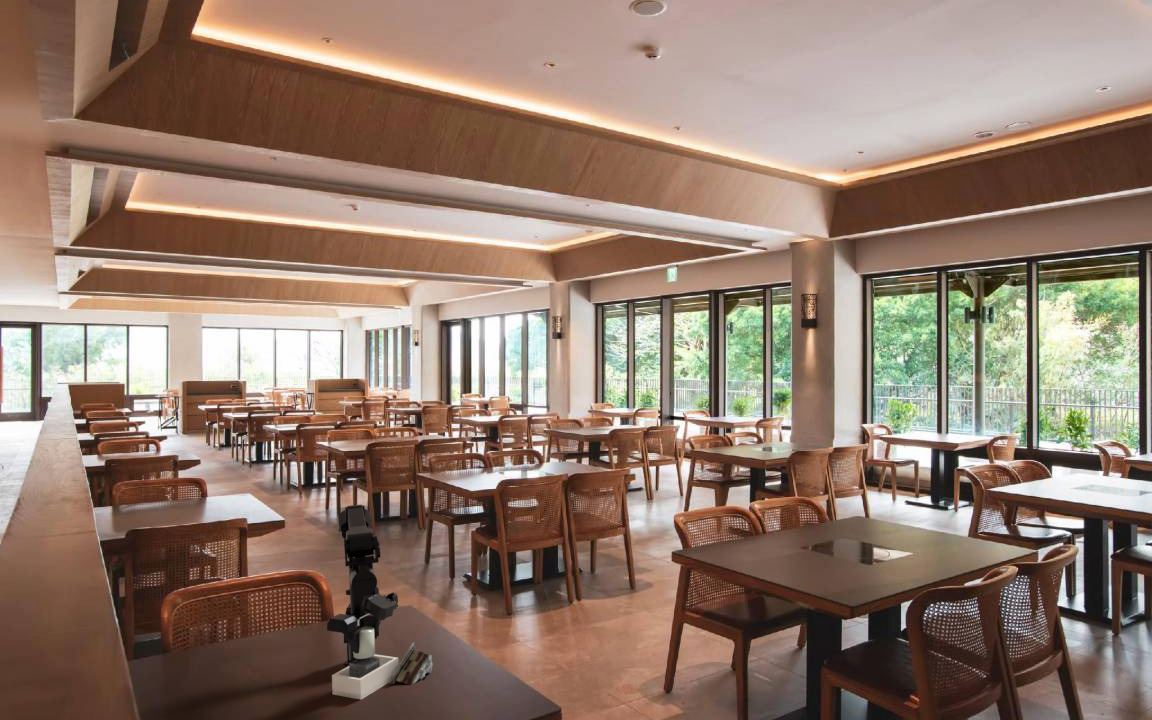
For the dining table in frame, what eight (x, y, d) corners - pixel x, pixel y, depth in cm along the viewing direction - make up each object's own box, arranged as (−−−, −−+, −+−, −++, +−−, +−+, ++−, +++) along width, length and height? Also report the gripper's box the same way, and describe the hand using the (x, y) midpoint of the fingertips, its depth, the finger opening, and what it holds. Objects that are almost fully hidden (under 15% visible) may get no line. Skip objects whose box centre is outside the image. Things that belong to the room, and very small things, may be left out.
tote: (332, 694, 175) (331, 675, 176) (371, 671, 188) (371, 653, 188) (361, 699, 172) (360, 680, 172) (399, 676, 185) (398, 657, 185)
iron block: (349, 684, 179) (349, 663, 179) (363, 675, 183) (363, 655, 183) (366, 686, 177) (365, 665, 177) (380, 678, 181) (379, 658, 181)
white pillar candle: (349, 657, 179) (348, 632, 179) (363, 649, 183) (362, 625, 183) (365, 660, 176) (364, 634, 177) (379, 652, 181) (378, 627, 181)
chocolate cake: (414, 691, 177) (436, 644, 184) (387, 681, 178) (411, 634, 186) (420, 705, 184) (442, 658, 191) (394, 695, 185) (417, 649, 193)
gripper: (361, 599, 168) (364, 668, 168) (412, 576, 185) (414, 639, 185) (324, 594, 173) (326, 662, 173) (376, 573, 190) (379, 634, 190)
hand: (364, 649), depth 180 cm, fingers closed on white pillar candle, 5 cm apart
